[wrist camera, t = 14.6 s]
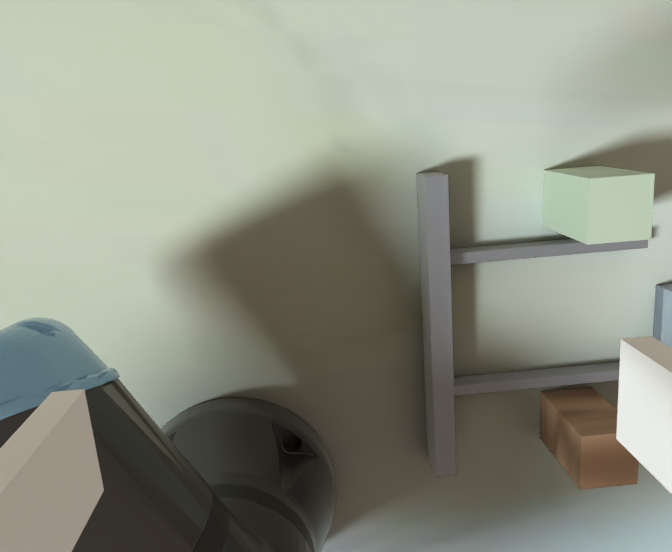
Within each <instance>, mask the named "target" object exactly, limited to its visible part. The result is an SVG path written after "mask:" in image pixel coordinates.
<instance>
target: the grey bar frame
mask: <svg viewBox="0 0 672 552" xmlns="http://www.w3.org/2000/svg"><path fill="white" fill-rule="evenodd" d="M416 175H417V200H418V224H419V249H420V274H421V298H422V323H423V348H424V372H425V397H426V422H427V446H428V457H429V459H430V462H431V464H432V467H433V469H434V472H435V475H436V477H438V476H448V475H456V444H455V407H454V396H459V395H469V394H479V393H490V392H500V391H511V390H521V389H531V388H542V387H552V386H563V385H573V384H583V383H594V382H604V381H615V380H619V368H620V362H609V363H599V364H588V365H578V366H567V367H556V368H546V369H535V370H525V371H514V372H504V373H493V374H483V375H472V376H462V377H454V371H453V335H452V299H451V265H456V264H467V263H479V262H490V261H502V260H513V259H525V258H536V257H548V256H559V255H571V254H582V253H593V252H605V251H616V250H628V249H639V248H647V247H648V240H637V241H625V242H613V243H601V244H590V245H587V244H584V243H582V242H580V241H577V240H575V239H561V240H549V241H538V242H526V243H514V244H503V245H491V246H479V247H468V248H456V249H450V226H449V190H448V175H447V174H444V173H441V172H438V171H437V172H424V173H416Z"/></svg>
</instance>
